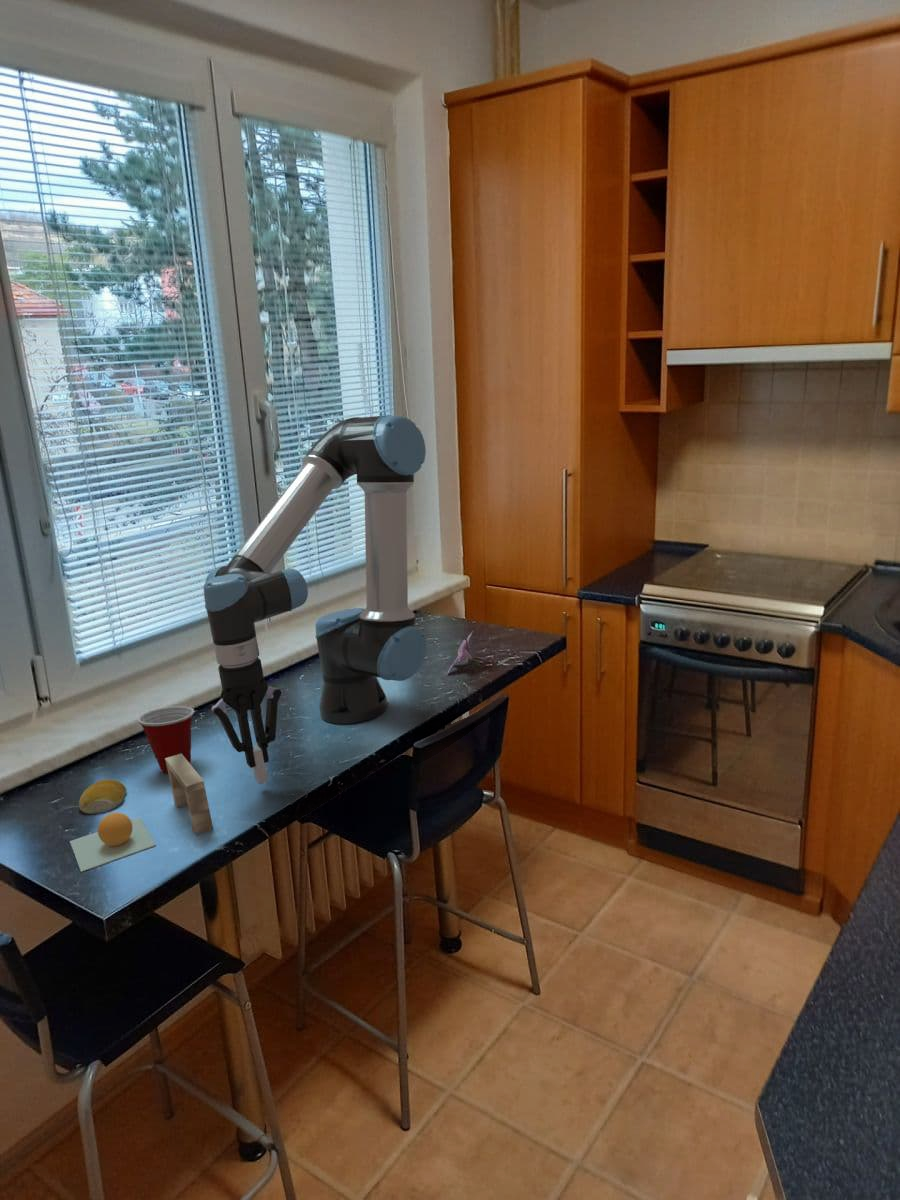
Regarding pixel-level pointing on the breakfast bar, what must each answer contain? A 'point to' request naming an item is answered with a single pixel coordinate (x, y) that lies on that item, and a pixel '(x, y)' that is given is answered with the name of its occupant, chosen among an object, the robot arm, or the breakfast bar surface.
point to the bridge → (189, 792)
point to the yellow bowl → (102, 796)
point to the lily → (464, 652)
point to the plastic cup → (168, 732)
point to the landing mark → (110, 847)
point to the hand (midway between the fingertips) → (261, 779)
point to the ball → (115, 829)
